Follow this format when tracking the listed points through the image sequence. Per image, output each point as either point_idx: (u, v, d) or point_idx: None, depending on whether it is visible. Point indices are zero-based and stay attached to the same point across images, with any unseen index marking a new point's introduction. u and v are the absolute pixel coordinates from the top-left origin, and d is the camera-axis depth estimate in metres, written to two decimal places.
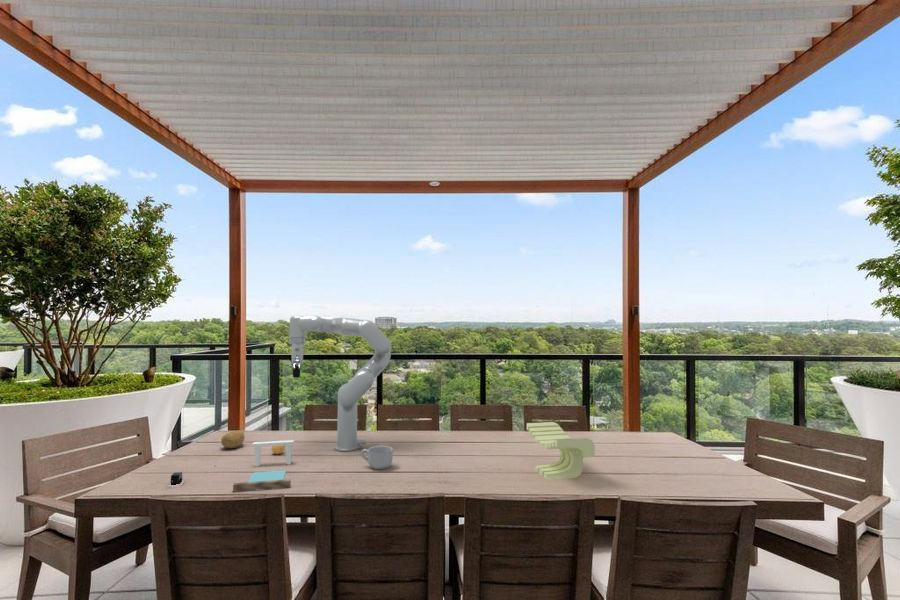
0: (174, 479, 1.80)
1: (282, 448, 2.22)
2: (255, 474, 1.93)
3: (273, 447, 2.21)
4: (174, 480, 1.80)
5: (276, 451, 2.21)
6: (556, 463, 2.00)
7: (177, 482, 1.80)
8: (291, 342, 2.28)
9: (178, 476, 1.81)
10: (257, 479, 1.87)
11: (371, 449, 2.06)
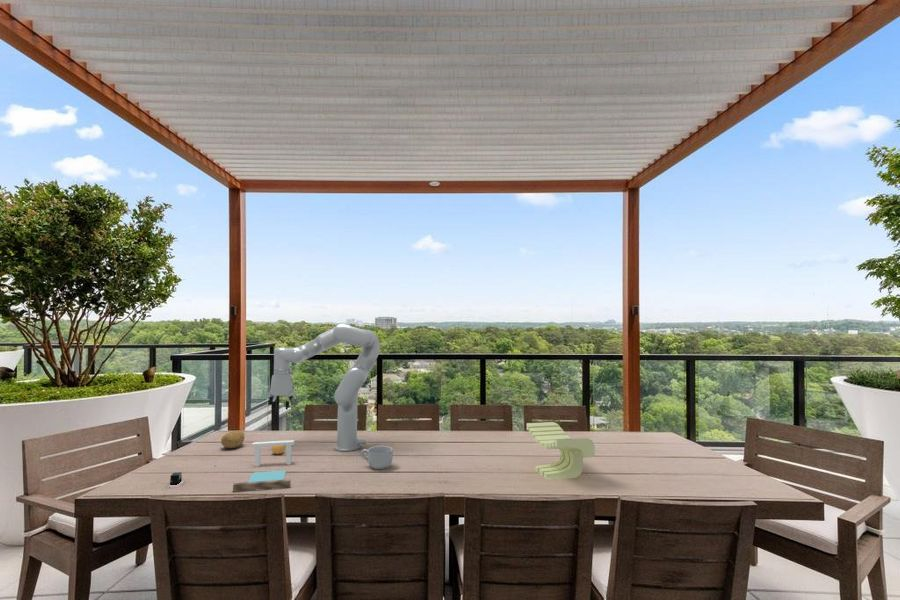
0: (174, 479, 1.80)
1: (282, 448, 2.22)
2: (255, 474, 1.93)
3: (273, 447, 2.21)
4: (174, 480, 1.80)
5: (276, 451, 2.21)
6: (556, 463, 2.00)
7: (177, 482, 1.80)
8: (286, 373, 2.32)
9: (178, 476, 1.81)
10: (257, 479, 1.87)
11: (371, 449, 2.06)
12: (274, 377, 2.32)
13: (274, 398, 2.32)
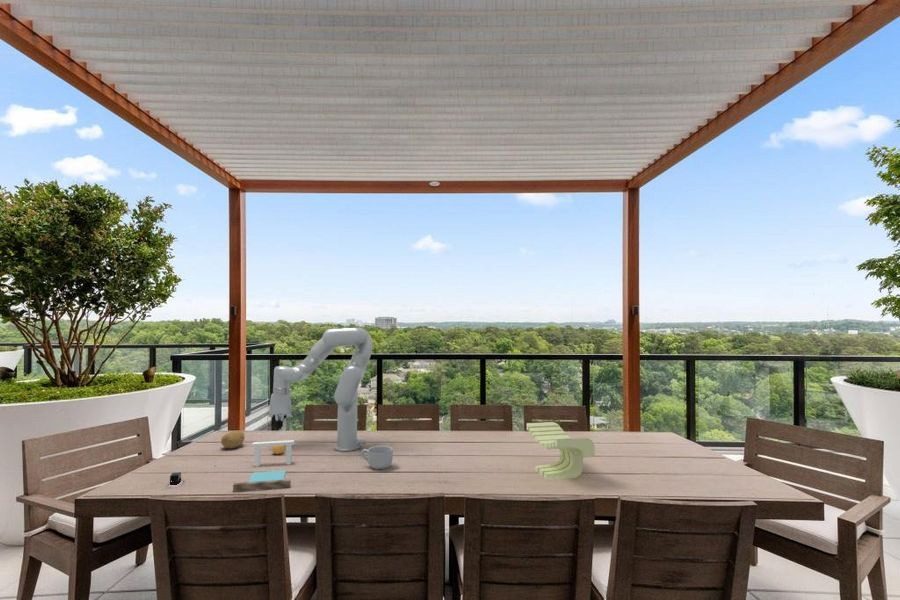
0: (173, 479, 1.80)
1: (282, 448, 2.22)
2: (255, 474, 1.93)
3: (273, 447, 2.21)
4: (173, 480, 1.80)
5: (276, 451, 2.21)
6: (556, 463, 2.00)
7: (176, 482, 1.80)
8: (285, 393, 2.32)
9: (177, 476, 1.81)
10: (257, 479, 1.87)
11: (371, 449, 2.06)
12: (273, 396, 2.31)
13: (277, 417, 2.32)
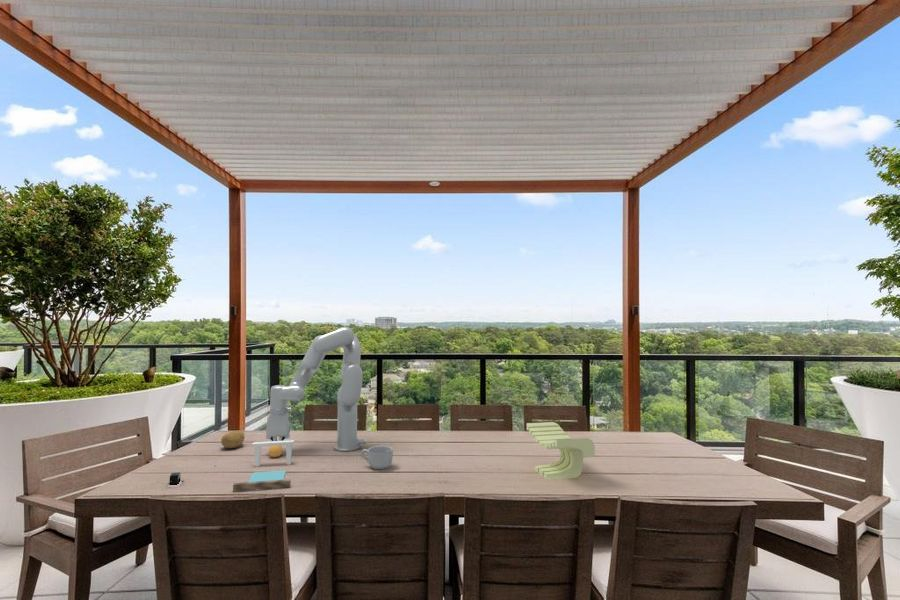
0: (173, 479, 1.80)
1: (280, 454, 2.19)
2: (255, 474, 1.93)
3: None
4: (173, 480, 1.80)
5: None
6: (556, 463, 2.00)
7: (176, 482, 1.80)
8: (283, 413, 2.22)
9: (177, 476, 1.81)
10: (257, 479, 1.87)
11: (371, 449, 2.06)
12: (270, 417, 2.21)
13: (275, 439, 2.22)
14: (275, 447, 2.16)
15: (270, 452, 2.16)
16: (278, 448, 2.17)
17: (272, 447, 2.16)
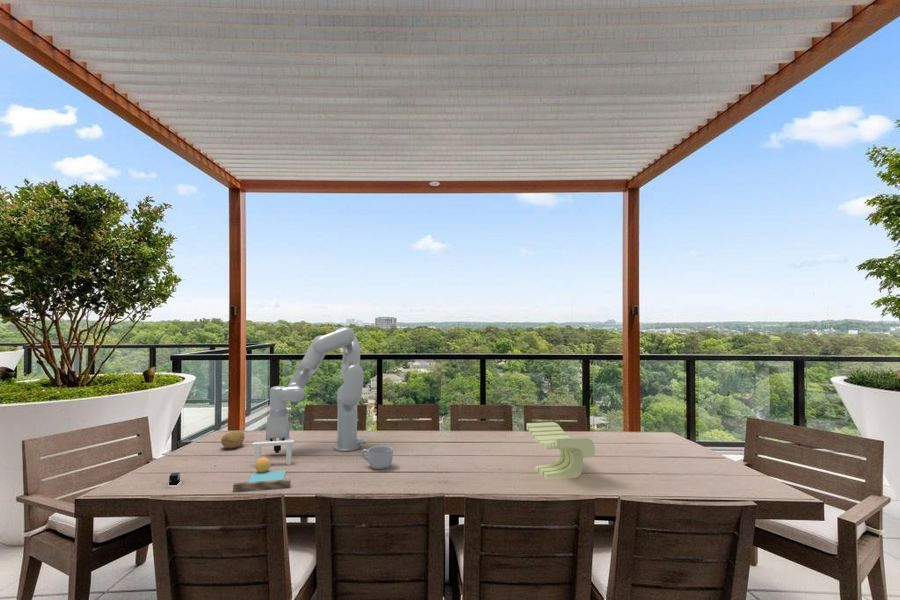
0: (173, 479, 1.80)
1: None
2: (255, 474, 1.93)
3: None
4: (173, 480, 1.80)
5: None
6: (556, 463, 2.00)
7: (176, 482, 1.80)
8: (283, 414, 2.20)
9: (177, 476, 1.81)
10: (257, 479, 1.87)
11: (371, 449, 2.06)
12: (270, 418, 2.19)
13: (275, 440, 2.20)
14: (262, 469, 1.94)
15: None
16: (265, 468, 1.95)
17: (258, 469, 1.94)
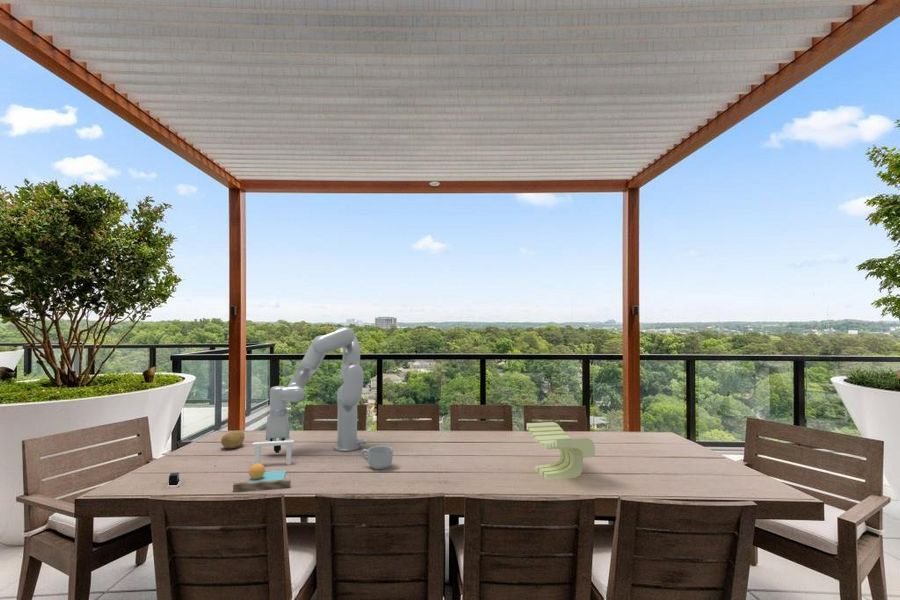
0: (172, 479, 1.80)
1: (262, 468, 1.87)
2: None
3: (252, 466, 1.87)
4: (172, 480, 1.80)
5: (254, 469, 1.86)
6: (556, 463, 2.00)
7: (175, 482, 1.80)
8: (283, 414, 2.20)
9: (176, 476, 1.81)
10: (257, 479, 1.87)
11: (371, 449, 2.06)
12: (270, 418, 2.19)
13: (275, 440, 2.20)
14: None
15: None
16: None
17: None
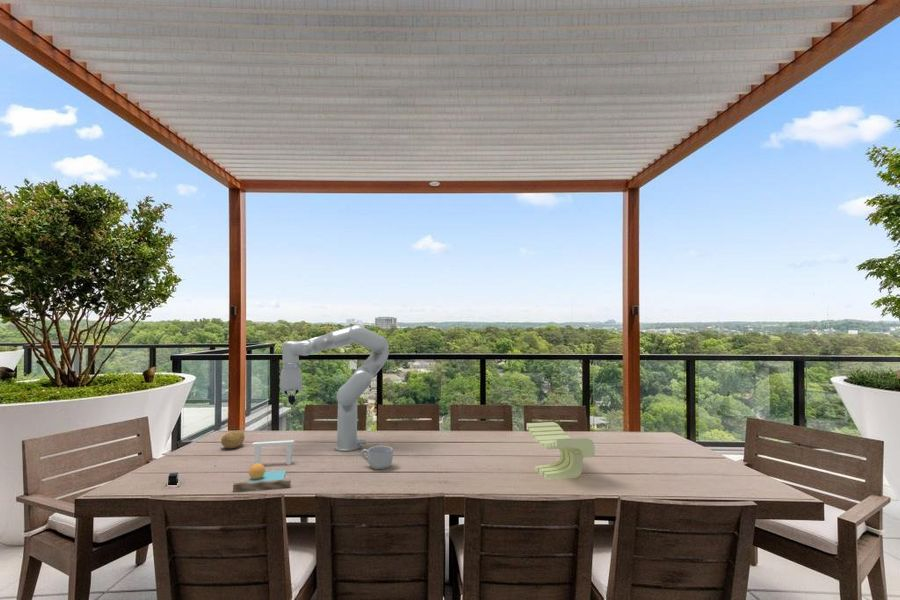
0: (172, 479, 1.80)
1: (262, 468, 1.87)
2: None
3: (252, 466, 1.87)
4: (172, 480, 1.80)
5: (254, 469, 1.86)
6: (556, 463, 2.00)
7: (175, 482, 1.80)
8: (296, 367, 2.30)
9: (176, 476, 1.80)
10: (257, 479, 1.87)
11: (371, 449, 2.06)
12: (283, 371, 2.28)
13: (289, 392, 2.29)
14: None
15: None
16: None
17: None
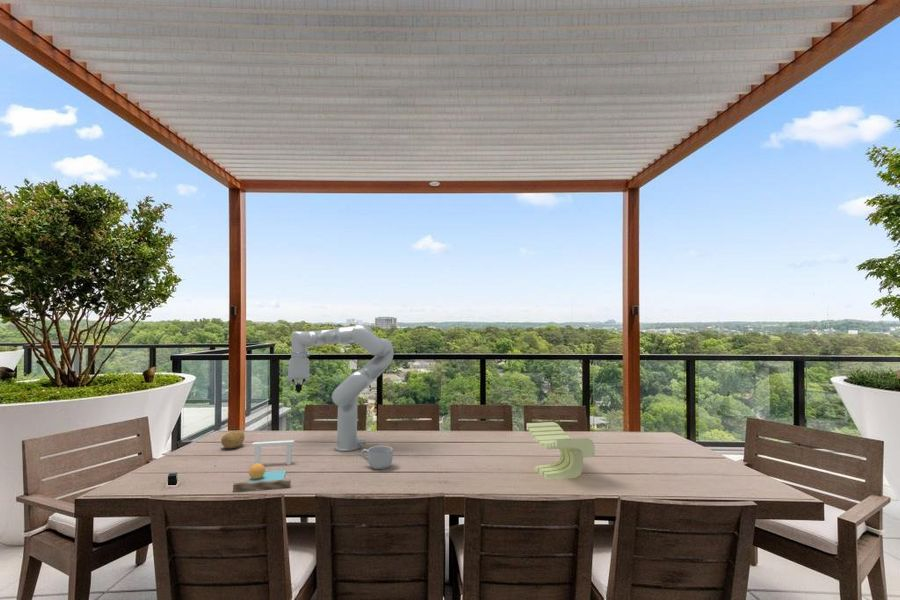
0: (171, 479, 1.80)
1: (262, 468, 1.87)
2: None
3: (252, 466, 1.87)
4: (171, 480, 1.80)
5: (254, 469, 1.86)
6: (556, 463, 2.00)
7: (174, 482, 1.80)
8: (304, 357, 2.36)
9: (175, 476, 1.80)
10: (257, 479, 1.87)
11: (371, 449, 2.06)
12: (292, 360, 2.35)
13: (296, 381, 2.36)
14: None
15: None
16: None
17: None
